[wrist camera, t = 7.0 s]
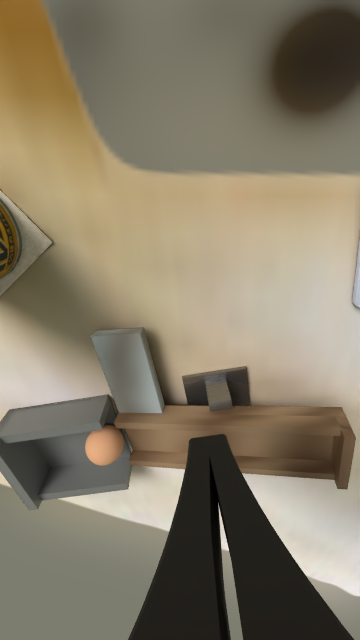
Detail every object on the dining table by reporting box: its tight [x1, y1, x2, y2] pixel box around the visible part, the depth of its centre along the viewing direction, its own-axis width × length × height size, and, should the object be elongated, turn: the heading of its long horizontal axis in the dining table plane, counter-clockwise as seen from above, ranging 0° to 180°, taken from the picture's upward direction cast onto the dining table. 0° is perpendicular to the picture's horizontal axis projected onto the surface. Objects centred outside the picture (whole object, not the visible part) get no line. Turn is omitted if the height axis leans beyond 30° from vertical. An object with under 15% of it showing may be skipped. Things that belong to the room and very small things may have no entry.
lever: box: [91, 328, 356, 489], centre depth 18 cm, size 16×12×2 cm
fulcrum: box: [182, 366, 250, 412], centre depth 21 cm, size 5×8×3 cm, turn 10°
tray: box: [0, 395, 132, 510], centre depth 22 cm, size 8×8×4 cm
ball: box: [85, 425, 124, 466], centre depth 21 cm, size 3×3×3 cm
